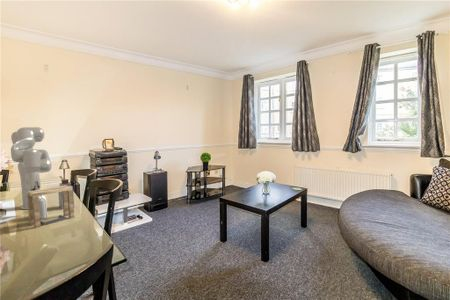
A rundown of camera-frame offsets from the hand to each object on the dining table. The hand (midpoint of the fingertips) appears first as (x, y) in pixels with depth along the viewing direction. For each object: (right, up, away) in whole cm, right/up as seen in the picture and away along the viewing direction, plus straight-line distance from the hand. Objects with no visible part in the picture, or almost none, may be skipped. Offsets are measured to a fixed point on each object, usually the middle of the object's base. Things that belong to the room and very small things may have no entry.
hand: (34, 200), depth 144 cm
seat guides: (+21, -8, -13) cm, 26 cm away
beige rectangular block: (+11, -7, +13) cm, 18 cm away
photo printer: (+8, -9, -5) cm, 13 cm away
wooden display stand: (+21, -8, -13) cm, 26 cm away
